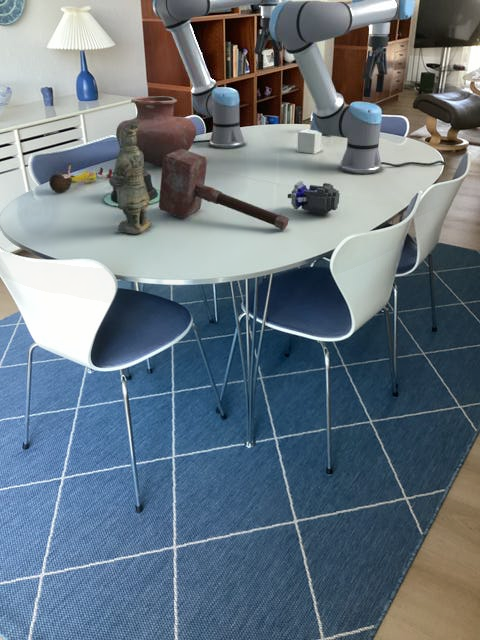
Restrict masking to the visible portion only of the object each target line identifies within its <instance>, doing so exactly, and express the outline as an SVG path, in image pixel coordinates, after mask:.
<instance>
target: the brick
mask: <svg viewBox="0 0 480 640" xmlns="http://www.w3.org/2000/svg"><path fill="white" fill-rule="evenodd" d="M322 138H323V134H322V133H320V132H318V131H315V130H310V129H306V128H305V129H302V130H299V131H297V150H296V151H297V152H298V153H305V154H312V155H315V154H317V153H320V152H321V151H322Z"/></svg>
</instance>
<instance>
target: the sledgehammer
mask: <svg viewBox="0 0 480 640" xmlns="http://www.w3.org/2000/svg"><path fill="white" fill-rule="evenodd" d="M207 164H208V159H207V158H206V157H205V156H203V155H200V154H197V153H195V152H193V151H189V150H188V151H187V150H184V149H179V150H177V151H174V152H172V153H170V154H167V155H165V156H164V158H163V165H161V166H162V167H161V176H160V187H159V190H160V198H159V200H158V208H159V210H160V211H162V212H165V213H168V214H170V215H173V216H174V217H177V218H180V219H182V220H185V219H187V218H188V217H190V216H192V215H193V214H195V213H197V212H198V211H199V210H200V209H201V207H202V201H203V200H204V201H207V202H209V203H213V204H215V205H220V206H223V207H225V208H228V209H231V210H233V211H236V212H239V213H241V214H243V215H245V216H248V217H252V218H255V219H257V220H260V221H262V222H264V223H267V224H270V225H273V226H274V228H276V229H280V230H282V231H285V230H286V228H287V227H288V224H289V221H290V218H289V217H288V216H286V215H283V214H281V213H279V214H277V213H275V212H273V211H269V210H267V209H265V208H262V207H259V206H256V205H254V204H251V203H248V202H246V201H244V200H242V199H238V198H236V197H233V196H231V195H228V194H225V193H223V192H222V191H220V190H218V189H215V188H214V187H211V186H208V185H205V181H206V175H207Z"/></svg>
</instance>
